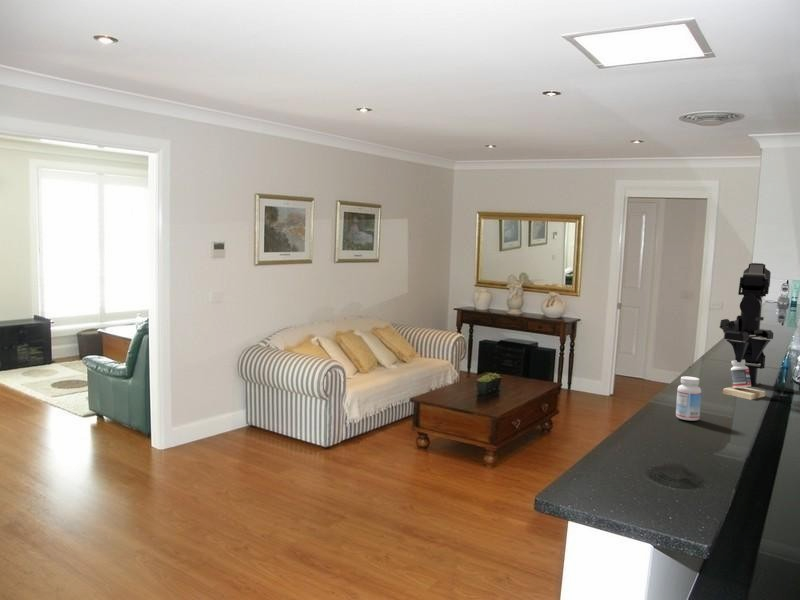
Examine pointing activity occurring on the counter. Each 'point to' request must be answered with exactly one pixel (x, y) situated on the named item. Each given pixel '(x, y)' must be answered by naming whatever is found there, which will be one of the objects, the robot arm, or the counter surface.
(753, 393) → the maple block
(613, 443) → the counter surface
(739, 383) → the pill bottle
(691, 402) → the pill bottle
